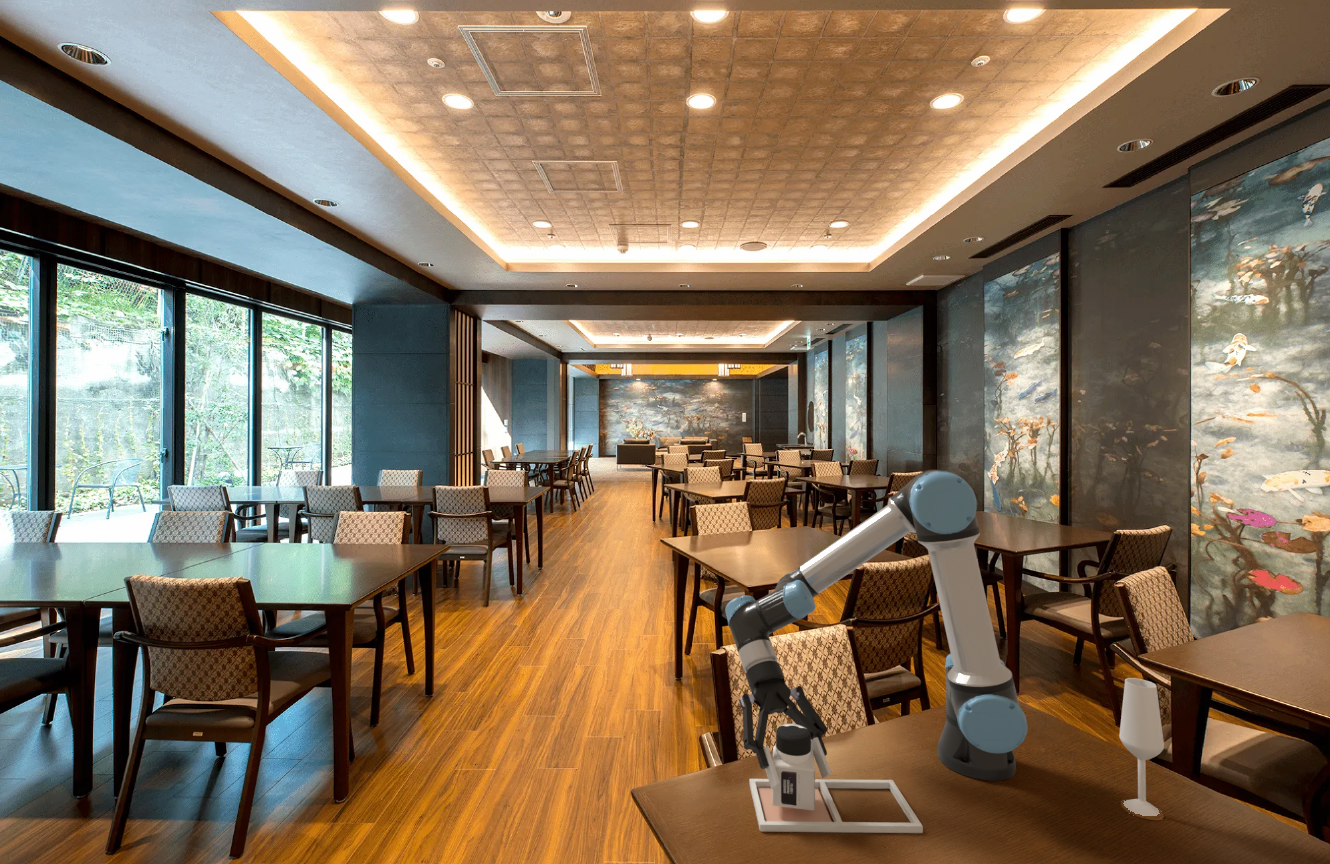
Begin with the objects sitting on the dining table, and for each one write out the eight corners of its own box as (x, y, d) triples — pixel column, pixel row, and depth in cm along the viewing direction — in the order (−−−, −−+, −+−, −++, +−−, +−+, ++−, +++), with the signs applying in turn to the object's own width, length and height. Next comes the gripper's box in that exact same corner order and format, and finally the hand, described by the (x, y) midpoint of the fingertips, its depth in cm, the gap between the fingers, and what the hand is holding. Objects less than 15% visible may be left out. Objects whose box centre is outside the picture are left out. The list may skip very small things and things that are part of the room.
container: (814, 811, 112) (814, 740, 112) (772, 806, 114) (772, 735, 114) (813, 788, 120) (813, 721, 120) (773, 783, 121) (773, 717, 121)
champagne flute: (1167, 825, 111) (1165, 692, 111) (1121, 813, 115) (1120, 684, 115) (1162, 806, 117) (1160, 680, 117) (1118, 795, 120) (1117, 673, 121)
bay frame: (892, 785, 124) (892, 779, 124) (922, 832, 109) (922, 826, 109) (749, 784, 124) (749, 778, 124) (760, 831, 109) (760, 824, 109)
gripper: (801, 668, 135) (844, 776, 120) (706, 681, 128) (740, 798, 113) (815, 652, 130) (861, 763, 115) (717, 665, 123) (753, 785, 108)
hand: (801, 780), depth 114 cm, fingers closed on container, 10 cm apart
